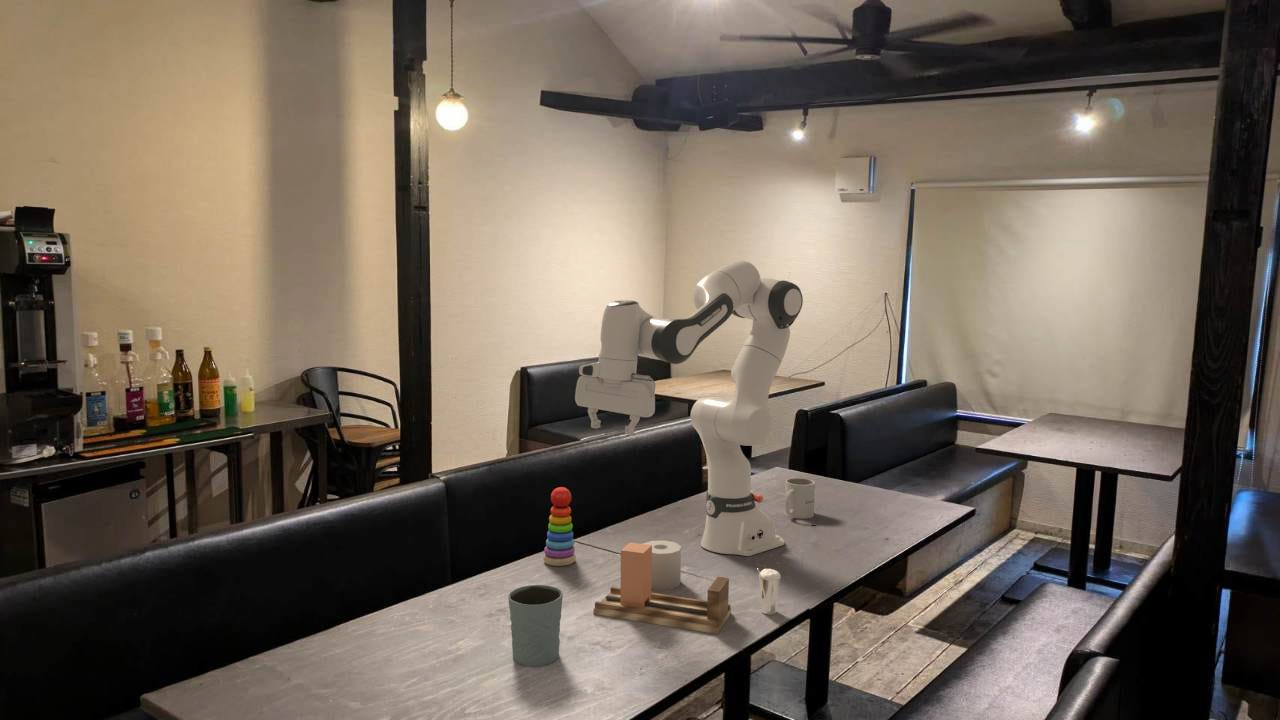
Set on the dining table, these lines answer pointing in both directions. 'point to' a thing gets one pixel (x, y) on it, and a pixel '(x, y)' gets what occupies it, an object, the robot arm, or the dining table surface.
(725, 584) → the channel
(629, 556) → the panel
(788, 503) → the mug
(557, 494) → the stacking toy
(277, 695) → the dining table surface
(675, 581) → the toilet tissue
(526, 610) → the green cup
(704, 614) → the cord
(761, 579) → the milkshake
